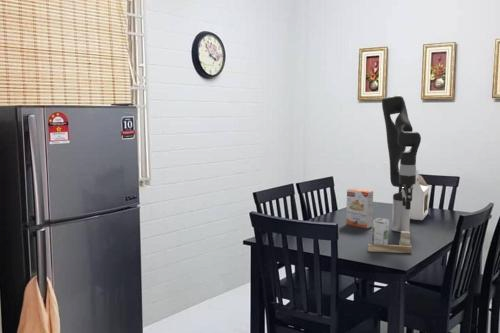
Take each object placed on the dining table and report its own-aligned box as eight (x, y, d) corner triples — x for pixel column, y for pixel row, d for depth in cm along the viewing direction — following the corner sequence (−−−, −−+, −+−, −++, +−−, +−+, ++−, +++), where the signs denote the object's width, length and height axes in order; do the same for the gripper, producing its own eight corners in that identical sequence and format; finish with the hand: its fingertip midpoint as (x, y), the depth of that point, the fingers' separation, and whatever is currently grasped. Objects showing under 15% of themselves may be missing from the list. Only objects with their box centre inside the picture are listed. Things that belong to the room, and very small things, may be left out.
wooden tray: (365, 242, 253) (365, 226, 252) (406, 243, 250) (406, 228, 249) (368, 251, 237) (369, 234, 236) (412, 253, 234) (413, 236, 234)
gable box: (406, 211, 329) (408, 169, 326) (427, 213, 323) (429, 170, 320) (400, 218, 309) (401, 173, 306) (422, 220, 303) (424, 174, 300)
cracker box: (345, 224, 291) (346, 189, 288) (351, 223, 295) (352, 188, 293) (366, 229, 281) (367, 192, 279) (372, 227, 285) (373, 190, 283)
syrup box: (376, 246, 246) (377, 217, 244) (388, 248, 242) (389, 219, 241) (371, 249, 242) (372, 219, 240) (383, 251, 238) (384, 221, 236)
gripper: (397, 171, 246) (396, 204, 248) (401, 175, 232) (400, 210, 234) (413, 172, 245) (411, 205, 247) (418, 176, 231) (417, 210, 233)
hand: (406, 207), depth 240 cm, fingers open, 8 cm apart
